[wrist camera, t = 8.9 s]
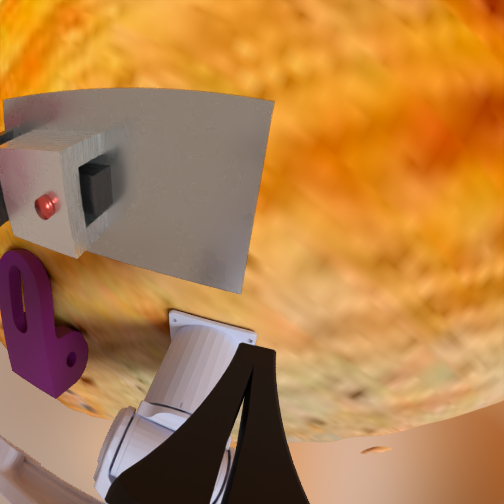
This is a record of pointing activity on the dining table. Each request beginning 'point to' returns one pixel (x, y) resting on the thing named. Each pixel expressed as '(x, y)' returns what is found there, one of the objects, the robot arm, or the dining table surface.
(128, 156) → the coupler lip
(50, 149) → the block
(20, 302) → the mounting bracket
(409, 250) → the dining table surface
